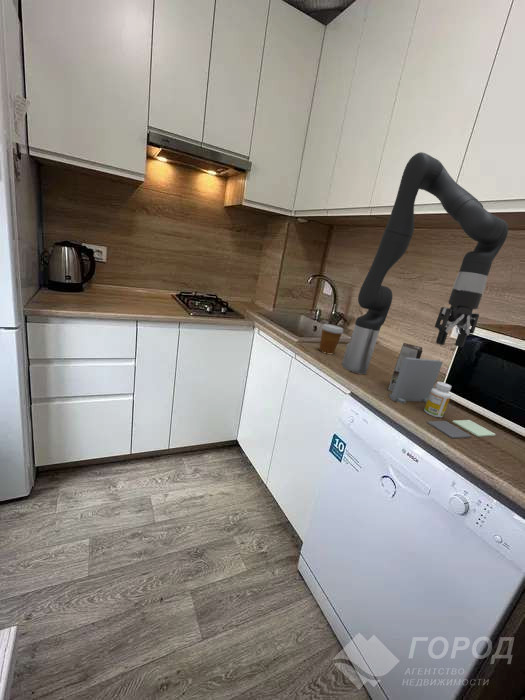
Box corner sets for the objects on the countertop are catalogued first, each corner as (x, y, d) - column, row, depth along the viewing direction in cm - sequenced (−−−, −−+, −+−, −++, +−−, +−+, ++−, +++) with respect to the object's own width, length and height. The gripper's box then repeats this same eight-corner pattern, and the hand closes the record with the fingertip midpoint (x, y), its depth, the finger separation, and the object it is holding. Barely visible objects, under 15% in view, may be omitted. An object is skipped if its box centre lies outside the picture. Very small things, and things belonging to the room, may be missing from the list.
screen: (386, 396, 107) (400, 355, 103) (420, 396, 114) (434, 358, 110) (398, 403, 103) (412, 361, 99) (432, 403, 110) (447, 364, 106)
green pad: (452, 421, 97) (452, 420, 97) (469, 421, 101) (469, 419, 100) (478, 436, 90) (478, 435, 90) (495, 435, 94) (495, 434, 94)
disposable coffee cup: (317, 352, 144) (323, 326, 140) (314, 347, 153) (321, 322, 150) (338, 357, 144) (345, 331, 140) (335, 351, 153) (342, 326, 150)
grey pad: (426, 422, 92) (427, 421, 92) (445, 422, 96) (445, 420, 96) (452, 438, 85) (452, 437, 85) (471, 437, 89) (471, 435, 89)
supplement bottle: (436, 411, 103) (447, 382, 101) (446, 419, 98) (458, 389, 96) (420, 408, 103) (430, 379, 100) (429, 416, 98) (440, 386, 95)
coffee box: (407, 396, 111) (422, 351, 107) (387, 390, 114) (402, 345, 109) (408, 389, 119) (423, 347, 115) (389, 383, 122) (403, 341, 117)
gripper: (470, 292, 100) (453, 343, 104) (439, 284, 94) (422, 340, 97) (495, 295, 93) (476, 350, 97) (464, 288, 87) (444, 347, 91)
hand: (449, 345), depth 97 cm, fingers open, 8 cm apart
